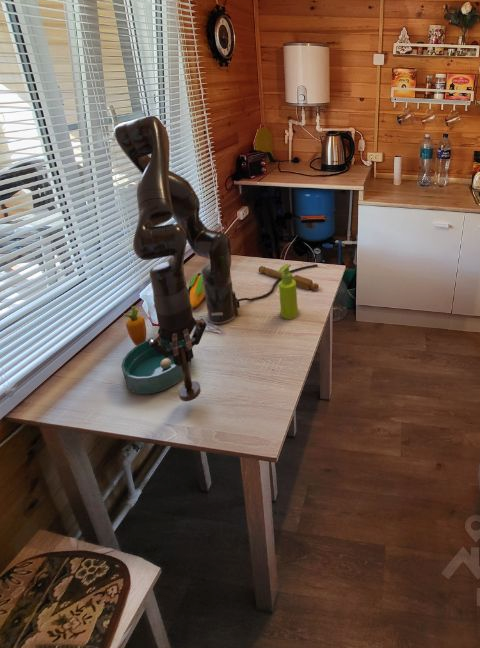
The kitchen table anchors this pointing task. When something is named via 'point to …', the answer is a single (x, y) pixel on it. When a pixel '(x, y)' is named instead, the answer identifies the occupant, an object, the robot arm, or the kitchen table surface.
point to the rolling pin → (299, 280)
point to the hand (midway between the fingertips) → (184, 361)
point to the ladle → (187, 379)
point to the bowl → (149, 369)
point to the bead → (165, 363)
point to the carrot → (136, 327)
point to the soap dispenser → (287, 294)
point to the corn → (196, 290)
